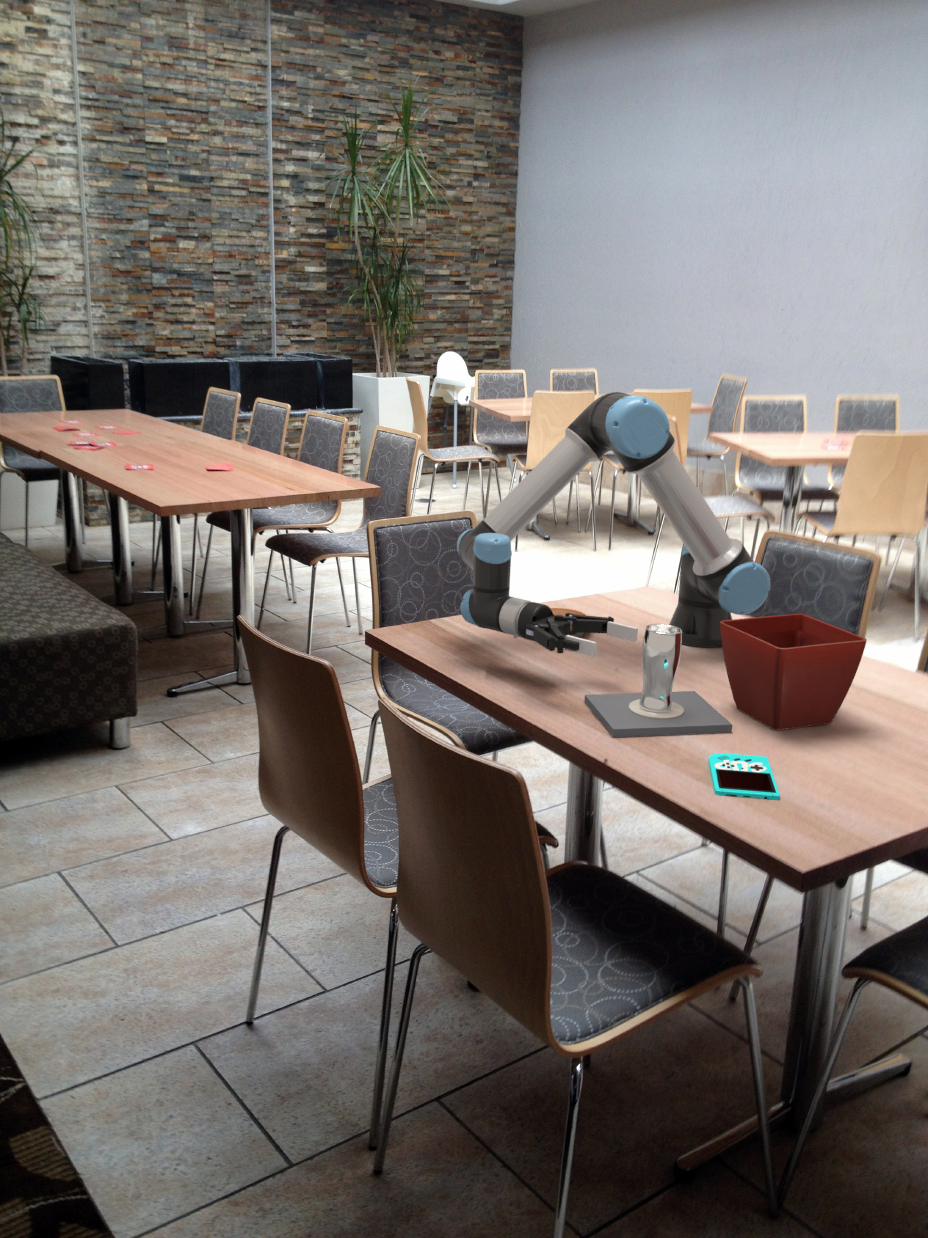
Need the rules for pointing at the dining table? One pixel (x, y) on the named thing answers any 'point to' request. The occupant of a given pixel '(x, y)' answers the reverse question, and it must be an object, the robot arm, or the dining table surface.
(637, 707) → the serving board
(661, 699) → the beer glass
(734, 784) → the handheld game console
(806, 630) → the plant pot
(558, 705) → the dining table surface
